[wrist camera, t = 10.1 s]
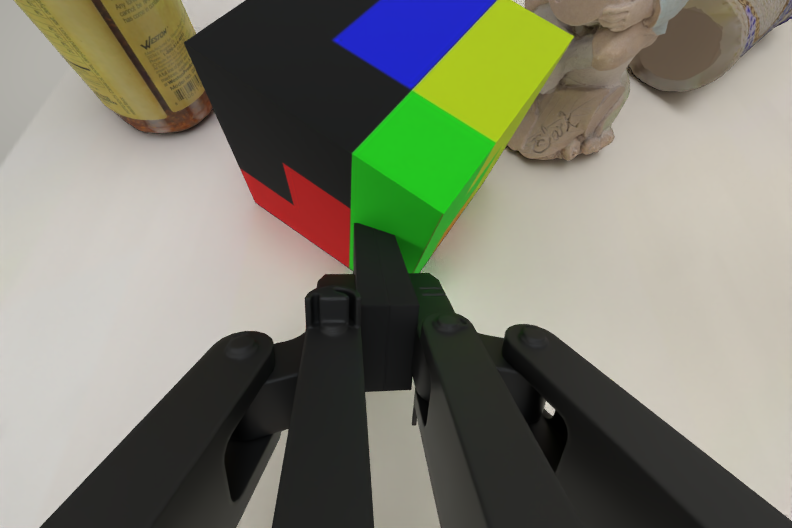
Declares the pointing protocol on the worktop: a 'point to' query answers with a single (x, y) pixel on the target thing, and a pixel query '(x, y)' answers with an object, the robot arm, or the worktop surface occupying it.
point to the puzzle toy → (372, 108)
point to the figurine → (588, 73)
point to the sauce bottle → (129, 57)
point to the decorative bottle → (706, 41)
